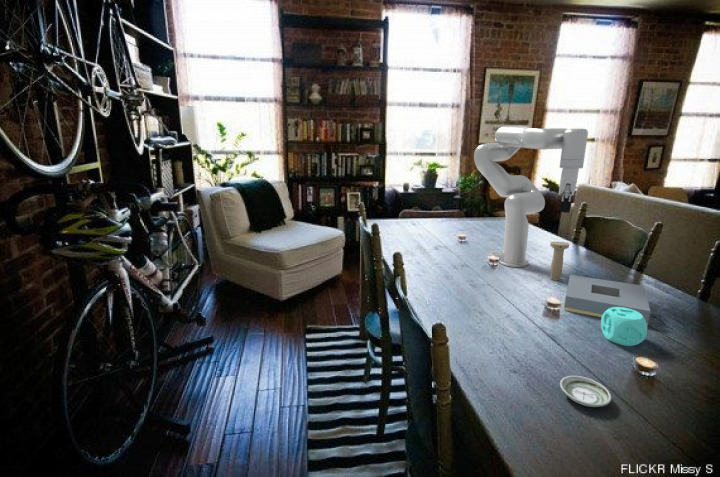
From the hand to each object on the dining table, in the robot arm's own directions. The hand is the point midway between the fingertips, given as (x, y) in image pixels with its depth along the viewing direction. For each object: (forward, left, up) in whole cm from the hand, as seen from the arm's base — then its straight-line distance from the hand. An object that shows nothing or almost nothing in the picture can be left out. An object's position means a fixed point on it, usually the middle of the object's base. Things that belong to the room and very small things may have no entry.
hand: (565, 209), depth 139 cm
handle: (0, 0, -28) cm, 28 cm away
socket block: (+16, -17, -28) cm, 36 cm away
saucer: (+12, -73, -29) cm, 80 cm away
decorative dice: (+20, -40, -29) cm, 53 cm away
